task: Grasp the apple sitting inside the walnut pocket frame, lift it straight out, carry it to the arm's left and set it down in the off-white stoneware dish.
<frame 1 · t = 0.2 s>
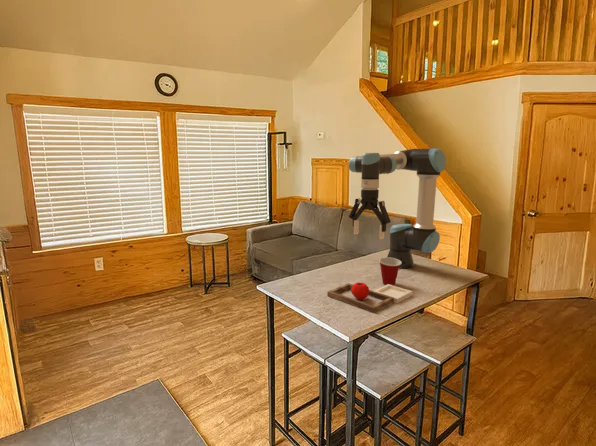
hand: (368, 236, 167), 27 cm above the table, fingers open, 13 cm apart
apple: (359, 299, 166), resting in pocket frame
pocket frame: (359, 298, 166), on the table
plastic cup: (389, 284, 183), on the table
dish: (392, 295, 169), on the table
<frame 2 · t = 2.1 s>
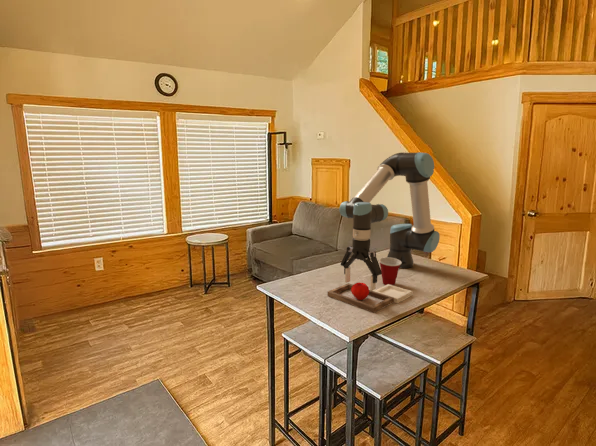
hand: (359, 285, 164), 6 cm above the table, fingers open, 13 cm apart
nothing on the table moved.
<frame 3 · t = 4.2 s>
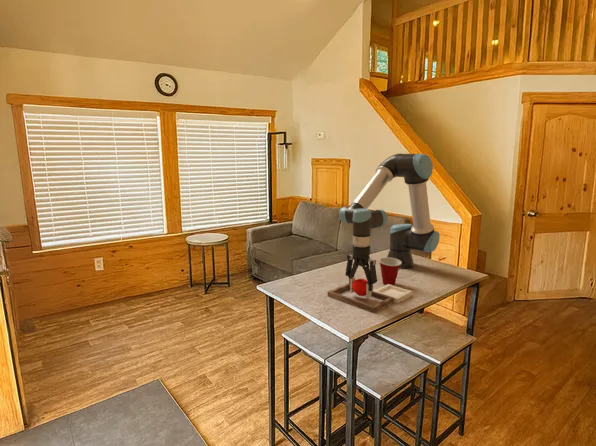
hand: (360, 294, 165), 2 cm above the table, fingers closed on apple, 8 cm apart
apple: (361, 295, 166), point 1 cm above the table, touching gripper
everything else where it was.
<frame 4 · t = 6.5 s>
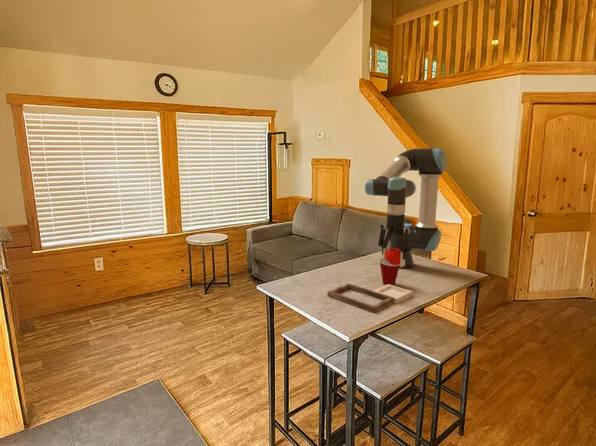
hand: (393, 264, 166), 15 cm above the table, fingers closed on apple, 8 cm apart
apple: (394, 265, 166), point 14 cm above the table, touching gripper
everything else where it was.
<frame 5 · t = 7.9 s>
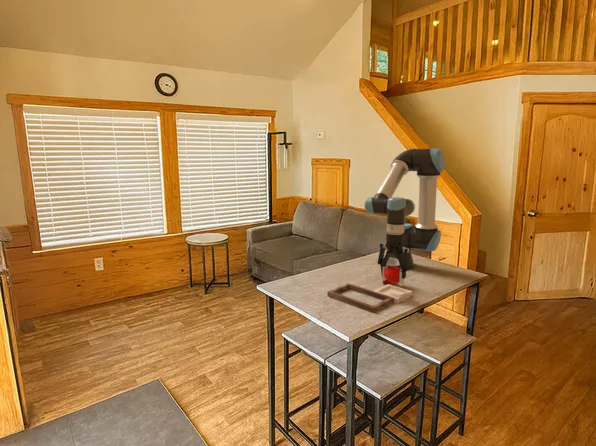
hand: (392, 282, 168), 6 cm above the table, fingers closed on apple, 8 cm apart
apple: (393, 283, 168), point 6 cm above the table, touching gripper
everything else where it was.
when the fingers open (2 cm above the table, at t = 9.1 s): apple drops 1 cm, resting on dish.
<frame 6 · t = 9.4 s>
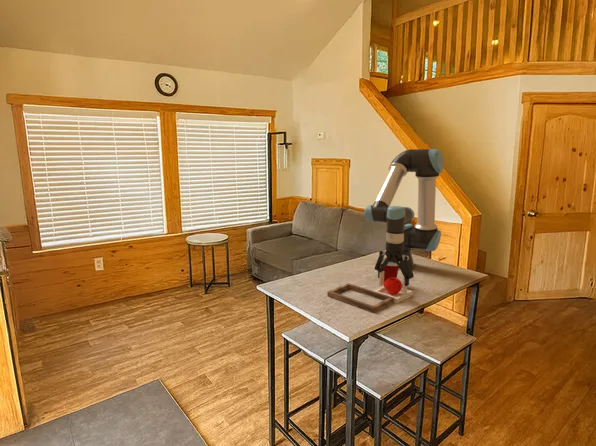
hand: (392, 288, 168), 3 cm above the table, fingers open, 11 cm apart
apple: (392, 293, 169), point 1 cm above the table, touching dish
everything else where it was.
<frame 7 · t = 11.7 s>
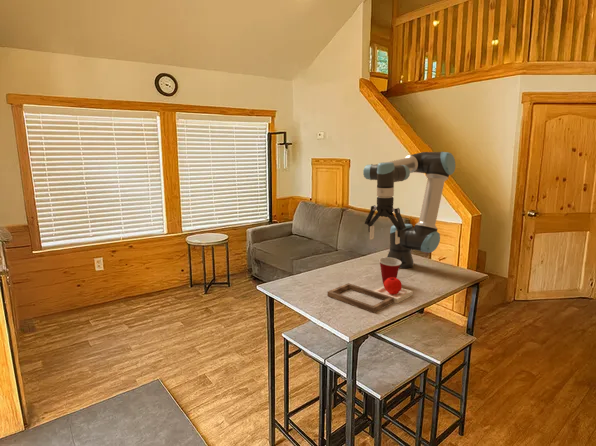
hand: (384, 241, 176), 22 cm above the table, fingers open, 13 cm apart
nothing on the table moved.
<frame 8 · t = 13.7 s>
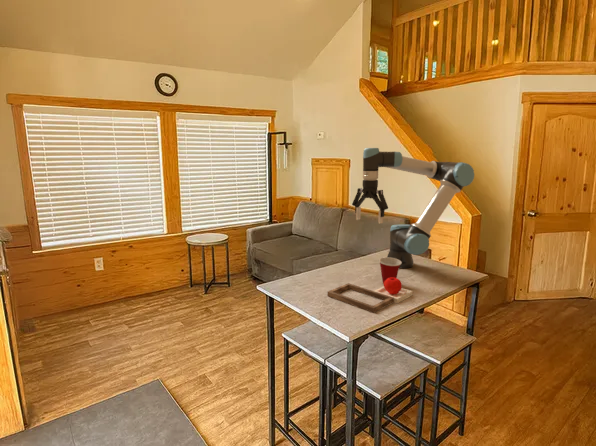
hand: (369, 221, 190), 29 cm above the table, fingers open, 13 cm apart
nothing on the table moved.
at the end: apple inside the target area on the dish (0.4 cm from its centre), point 0.6 cm above the dish's base; the gripper is holding nothing; apple moved 15.8 cm from its start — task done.
